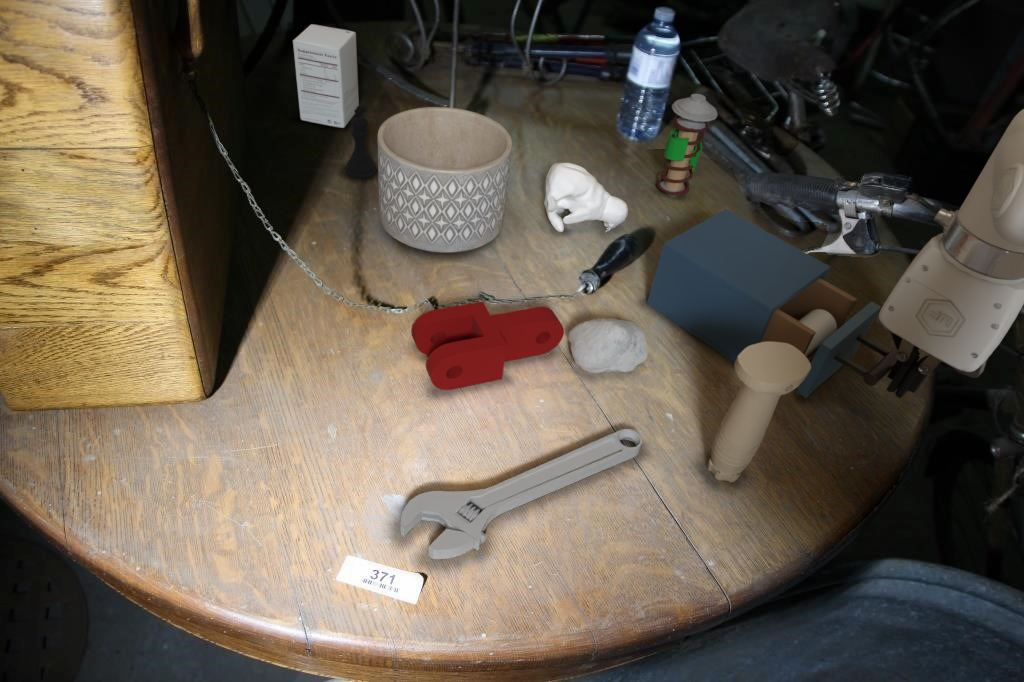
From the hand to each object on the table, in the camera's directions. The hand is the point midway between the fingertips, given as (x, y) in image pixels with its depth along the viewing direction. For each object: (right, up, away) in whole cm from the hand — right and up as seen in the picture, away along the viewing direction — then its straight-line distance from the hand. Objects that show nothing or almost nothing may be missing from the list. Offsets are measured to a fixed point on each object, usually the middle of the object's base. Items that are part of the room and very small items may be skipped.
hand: (898, 388), depth 79 cm
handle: (-20, -8, -5) cm, 22 cm away
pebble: (-31, +3, +5) cm, 31 cm away
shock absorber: (-17, +27, +34) cm, 47 cm away
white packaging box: (-70, +41, +41) cm, 91 cm away
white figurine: (-31, +21, +25) cm, 45 cm away
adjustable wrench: (-39, -9, -10) cm, 41 cm away
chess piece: (-63, +29, +29) cm, 75 cm away
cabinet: (-15, +8, +13) cm, 21 cm away
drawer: (-8, +3, +7) cm, 11 cm away
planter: (-50, +21, +21) cm, 58 cm away
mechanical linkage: (-43, +3, +3) cm, 43 cm away
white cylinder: (-8, +5, +7) cm, 12 cm away
